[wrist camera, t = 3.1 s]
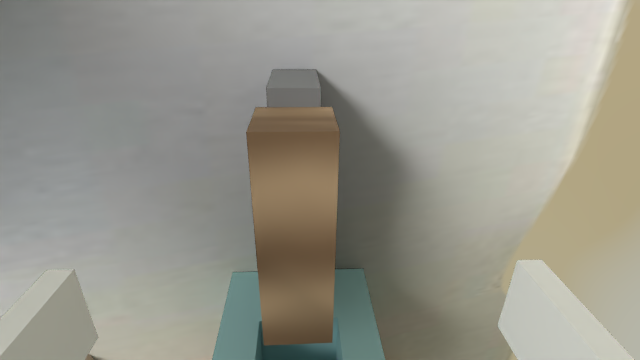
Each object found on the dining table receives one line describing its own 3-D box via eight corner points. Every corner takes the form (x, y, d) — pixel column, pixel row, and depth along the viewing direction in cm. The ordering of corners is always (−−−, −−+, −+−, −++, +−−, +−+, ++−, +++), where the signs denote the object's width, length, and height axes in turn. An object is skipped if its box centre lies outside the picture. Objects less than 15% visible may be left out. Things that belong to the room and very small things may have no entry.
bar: (255, 107, 19) (246, 132, 16) (331, 107, 20) (339, 131, 16) (268, 295, 25) (263, 345, 21) (327, 293, 25) (332, 342, 22)
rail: (272, 69, 24) (266, 88, 19) (316, 69, 24) (320, 88, 19) (281, 261, 31) (278, 311, 26) (315, 260, 31) (318, 310, 26)
